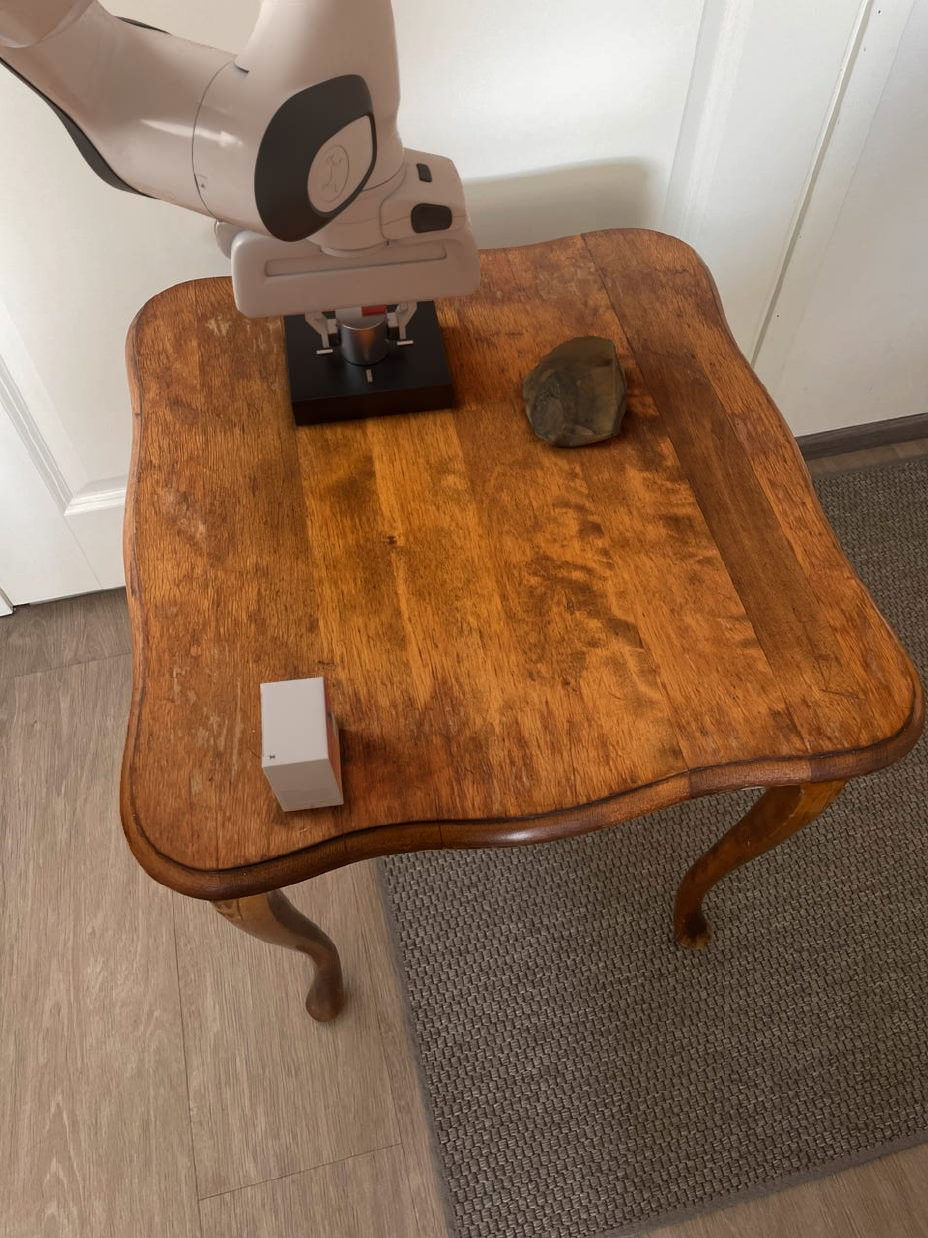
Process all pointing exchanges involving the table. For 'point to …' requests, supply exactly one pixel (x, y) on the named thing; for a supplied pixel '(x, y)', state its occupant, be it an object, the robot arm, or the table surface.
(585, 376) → the decorative stone
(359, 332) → the dial
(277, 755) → the small box
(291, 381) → the panel
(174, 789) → the table surface
